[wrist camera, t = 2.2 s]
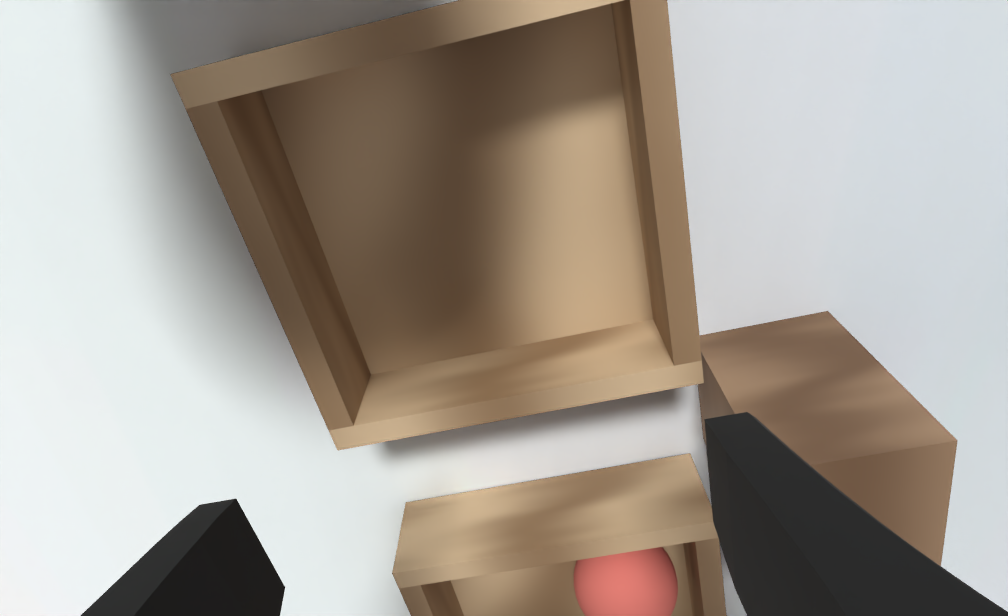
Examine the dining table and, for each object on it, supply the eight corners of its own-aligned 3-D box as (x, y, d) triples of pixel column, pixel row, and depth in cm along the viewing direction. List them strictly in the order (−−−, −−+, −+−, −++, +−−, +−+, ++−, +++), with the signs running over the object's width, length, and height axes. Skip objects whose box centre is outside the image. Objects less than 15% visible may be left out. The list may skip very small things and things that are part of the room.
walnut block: (827, 310, 19) (956, 440, 13) (826, 416, 20) (940, 567, 15) (692, 336, 19) (766, 472, 14) (703, 437, 21) (772, 592, 16)
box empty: (632, -45, 14) (662, -51, 12) (675, 326, 19) (703, 383, 16) (227, 59, 15) (170, 74, 13) (359, 387, 20) (337, 450, 17)
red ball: (659, 498, 21) (684, 583, 18) (669, 566, 23) (694, 655, 20) (561, 514, 22) (570, 600, 19) (577, 581, 23) (588, 669, 20)
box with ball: (690, 453, 21) (717, 521, 18) (711, 639, 26) (735, 716, 23) (405, 502, 22) (392, 573, 19) (474, 673, 27) (471, 750, 24)
